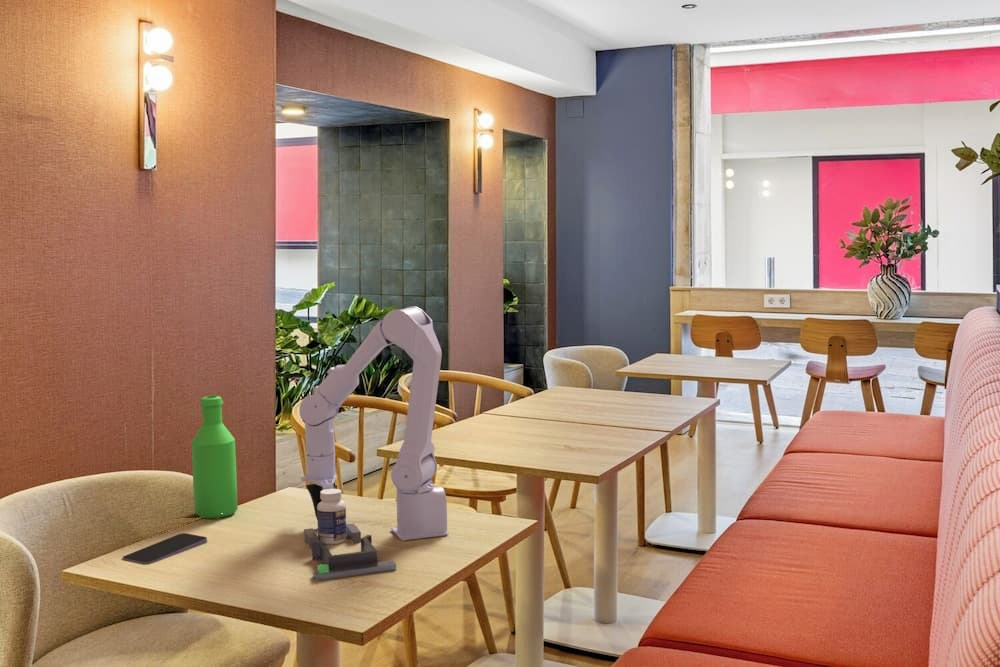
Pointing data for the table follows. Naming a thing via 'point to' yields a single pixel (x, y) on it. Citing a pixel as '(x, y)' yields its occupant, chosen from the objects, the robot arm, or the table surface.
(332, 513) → the pill bottle
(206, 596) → the table surface
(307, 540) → the grey u-shaped piece
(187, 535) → the smartphone
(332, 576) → the grey bottle cradle
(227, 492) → the bottle
